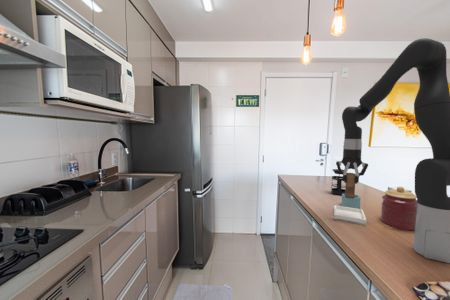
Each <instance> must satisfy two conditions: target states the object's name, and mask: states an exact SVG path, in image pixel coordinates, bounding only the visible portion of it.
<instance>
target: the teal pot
mask: <svg viewBox="0 0 450 300" xmlns="http://www.w3.org/2000/svg"><path fill="white" fill-rule="evenodd" d="M341 206H343V207H350V208H356V209H361V196H360V195H359V194H355V196H354V199H350V198H346V197H345V194H342V196H341Z"/></svg>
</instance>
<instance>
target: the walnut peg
mask: <svg viewBox="0 0 450 300" xmlns="http://www.w3.org/2000/svg"><path fill="white" fill-rule="evenodd" d="M355 177H356V173H355V172H354V173H353V172H347V173H346V183H345V188H344V189H345V197H346V198H350V199H354V196H355V195H356V192H355V191H356V184H355Z"/></svg>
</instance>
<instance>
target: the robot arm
mask: <svg viewBox="0 0 450 300" xmlns="http://www.w3.org/2000/svg"><path fill="white" fill-rule="evenodd" d="M409 43H410V44H408V45H407V46H406V47H405V48H404V49H403V50H402V51H401V53H400V54H399V55H398V56H397V58H396V59H395V60H394V61H393V63H391V65H390V66H389V67H388V69H387V70H386V71H385V72H384V74H383V75H382V76H381V77H380V78H379V79H378V80H377V81H376V83H375V84H373V86H372V87H370V88H369V89H368V90H367V91H366V92H365V93H364V94H363V95H362V96H361V97H360V99H359V101H358V102H359V105H358V106H347V107H345V108H344V109H343V111H342V113H341V119H342V124H343V128H344V141H343V146H342V148H343V150H342V159H341V160H338V161H339V162H338V161H336V162H335V164H336V168H337V169H338V171H339V173H340V175H342V174H343V175H342V177H343V178H342V179H343V181H342V182H344V184H346V173H348V170H351V169H352V170H354V173H355V174H356V177H355V185H358V184H359V182H360V181H359V180H360V176H364V175H365V173H366V171H367V169H368V167H369V164H368V163H365V162H363V161H362V146H363V143H362V141H363V140H362V138H363V137H362V136H363V128H362V127H361V126H359V125H358V123H357V122H362V121H363V120H366V118H367V117H368V116H369V115H370V113H371V112H372V111H373V109H374V108H375V107H377V106H378V105H379V104H381V102H383V101H384V100H385V99H386V98H387V97H388V96H389V95H390V94H391V92H392V90H393V88H395V85H396V84H397V82H398V81H399V80H400V79H401V78H402V77H403V76H404V75H405V74H407V72H409V71H411V70H412V69H413V68H415V69H416V71H417V74H418V79H419V87H418V91H417V93H416V96H415V99H414V103H413V112H414V117H415V118H414V119H415V123H416V126H417V127H418V128H419V130H420V131H421V132H422V133H421V134H423V135H424V137H425V138H426V140H427V141H428V142H429V144H430V146H431V150H432V151H431V152H432V158H424V159H422V160H420V161H419V162H418V163H417V165H416V167H415V170H414V195H416V196H417V198H416V200H417V209H416V221H415V230H414V238H413V246H412V247H413V251H415V252H416V254H419V255H421V256H422V257H423V258H425V259H429V260H432V261H433V260H434V261H438V262H442V263H447V264H450V196H449V195H448V193H447V191H448V186H449V187H450V87H449V82H448V76H447V73H448V72H447V48H446V46H445V44H444V43H442V41H438V40H434V39H431V38H428V37H420V38H417V39H415V40H414V41H412V42H409ZM341 165H343V166H344V168H343V170H344V172H343V171H341V169H342V168H341ZM361 166H362V169H361V170H360V172H359V167H361Z"/></svg>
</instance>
